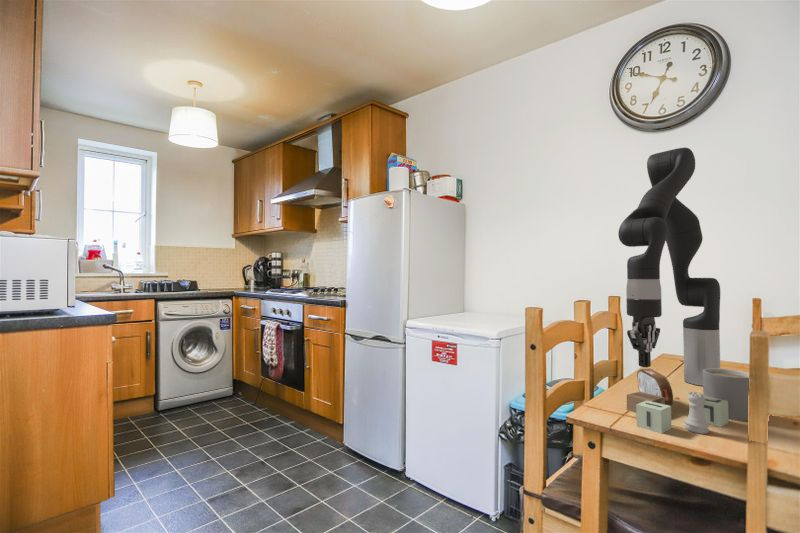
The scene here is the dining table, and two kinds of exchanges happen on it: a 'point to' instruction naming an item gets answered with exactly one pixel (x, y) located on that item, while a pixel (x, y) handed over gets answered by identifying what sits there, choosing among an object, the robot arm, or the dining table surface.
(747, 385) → the coffee mug
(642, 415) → the numbered block one
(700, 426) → the rook chess piece
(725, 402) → the numbered block seven
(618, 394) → the dining table surface
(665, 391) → the tin
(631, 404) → the walnut block
